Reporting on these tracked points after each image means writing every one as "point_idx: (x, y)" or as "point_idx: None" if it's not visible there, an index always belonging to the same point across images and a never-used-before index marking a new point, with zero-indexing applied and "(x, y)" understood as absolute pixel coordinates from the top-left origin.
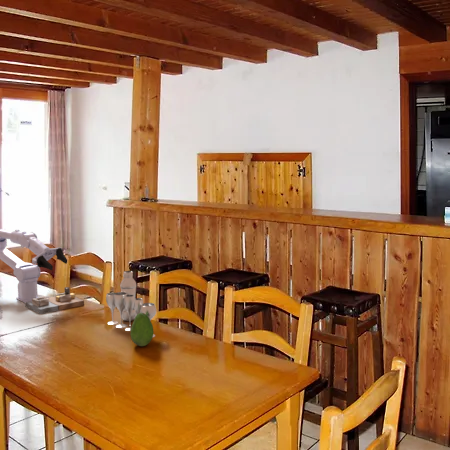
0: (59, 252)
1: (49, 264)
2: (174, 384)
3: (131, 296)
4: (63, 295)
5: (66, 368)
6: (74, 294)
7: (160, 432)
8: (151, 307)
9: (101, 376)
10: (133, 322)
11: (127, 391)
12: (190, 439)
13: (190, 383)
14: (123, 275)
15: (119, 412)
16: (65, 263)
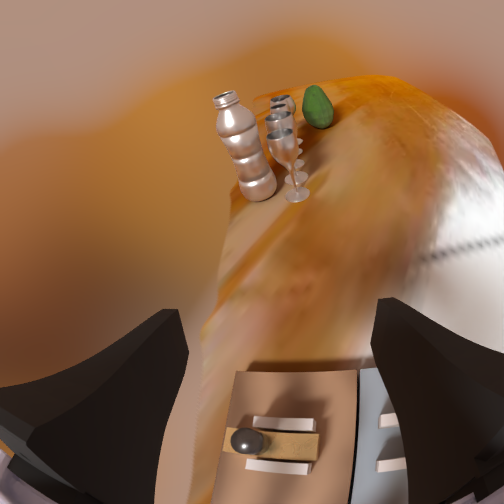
0: (92, 390)
1: (411, 309)
2: (346, 92)
3: (271, 112)
4: (291, 425)
5: (423, 116)
6: (229, 427)
7: (381, 77)
8: (282, 97)
9: (394, 103)
10: (325, 96)
11: (382, 92)
12: (370, 75)
13: (335, 91)
14: (235, 100)
15: (396, 85)
16: (187, 357)
